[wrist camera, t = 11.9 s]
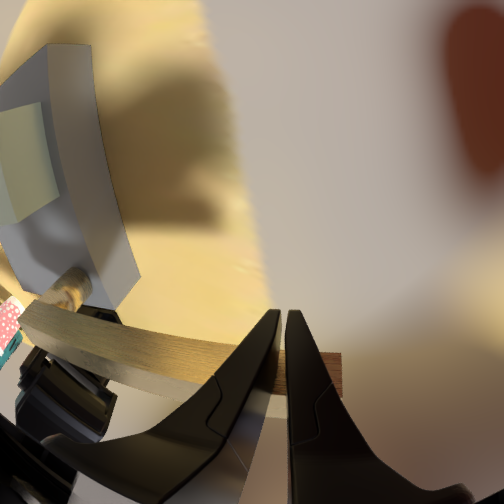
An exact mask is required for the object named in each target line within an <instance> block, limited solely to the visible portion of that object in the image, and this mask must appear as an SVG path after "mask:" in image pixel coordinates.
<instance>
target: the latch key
mask: <svg viewBox="0 0 504 504" xmlns="http://www.w3.org/2000/svg"><path fill="white" fill-rule="evenodd" d="M92 292H93V288H92V285H91V282H90V280H89V279H88V277H87V276H86V275H85V274H84V273H83V272H82V271H81V270H79V269H78V268H75V267H70V268H69V269H68V270H67V271H66V272H65V273H64V274H63V275H62V276H61V277H60V278H58V279H57V280H56V281H55V282H54V283H53V284H52V285H51V286H50V288H49V289H48V290H47V291H46V292H45V293H44V294H43V295H42V296H41V297H40V298H39V299H38V300H34V301H33V302H32V303H31V304H30V305H29V306H28V307H27V308H26V309H25V310H24V312H23V313H22V314H21V315H20V316H19V317H18V318H17V319H16V320H17V321H18V323H19V325H20V326H21V328H22V329H23V331H24V332H25V334H26V335H27V337H28V338H29V340H30V341H31V342H32V343H33V344H34V345H36V346H38V347H40V348H42V349H44V350H46V351H47V352H49V353H51V354H53V355H55V356H57V357H59V358H61V359H63V360H66V361H68V362H70V363H72V364H74V365H76V366H79V367H81V368H83V369H85V370H88V371H90V372H93V373H95V374H97V375H100V376H103V377H105V378H108V379H110V380H113V381H116V382H118V383H121V384H124V385H127V386H130V387H133V388H136V389H139V390H142V391H145V392H149V393H152V394H155V395H159V396H163V397H166V398H170V399H173V400H177V401H181V402H186V401H187V400H188V399H189V398H190V397H191V396H192V395H193V394H195V393H196V392H197V391H198V390H199V389H200V388H201V387H202V386H203V385H204V384H205V382H206V381H207V380H208V379H209V378H210V377H211V376H212V375H214V373H215V371H216V370H217V369H218V368H219V367H220V366H221V365H222V364H223V362H224V361H225V360H226V359H227V358H228V357H229V356H230V354H231V353H232V352H233V351H234V350H235V349H236V348H237V346H238V345H231V344H223V343H216V342H209V341H202V340H196V339H190V338H184V337H178V336H173V335H168V334H162V333H157V332H152V331H148V330H143V329H138V328H134V327H129V326H125V325H121V324H117V323H113V322H109V321H105V320H101V319H97V318H94V317H90V316H86V315H83V314H79V313H76V312H77V310H78V309H79V308H80V307H81V306H82V305H83V303H84V302H85V301H86V300H87V299H88V298H89V296H90V295H91V294H92ZM320 354H321V356H322V359H323V361H324V363H325V365H326V368H327V370H328V372H329V374H330V377H331V379H332V381H333V383H334V385H335V388H336V390H337V392H338V394H339V396H340V398H341V400H342V398H343V387H342V386H343V385H342V356H341V353H330V352H329V353H328V352H320ZM265 417H274V418H285V419H287V408H286V377H285V350H280V352H279V362H278V369H277V374H276V378H275V382H274V386H273V390H272V393H271V397H270V401H269V405H268V408H267V412H266V416H265Z"/></svg>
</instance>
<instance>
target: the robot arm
mask: <svg viewBox="0 0 504 504" xmlns="http://www.w3.org/2000/svg"><path fill="white" fill-rule="evenodd" d="M76 313H79V314H83V315H86V316H90V317H94V318H97V319H101V320H105V321H109V322H113V323H117V324H121V325H122V323H121V321H120V320H119V318H118V316H117V314H116V313H115V312H113V311H109V310H104V309H98V308H93V307H88V306H83V305H82V306H81V307H80V308H79V309H78V310H77V312H76ZM281 332H282V321H281V310H280V309H269V310H268V311H267V312H266V313H265V314H264V316H263V317H262V318H261V319H260V320H259V322H258V323H257V324H256V325H255V326H254V328H253V329H252V330H251V331H250V332H249V334H248V335H247V336H246V337H245V338H244V339H243V341H242V342H241V343H240V344H239V345H238V346H237V348H236V349H235V350H234V351H233V352H232V353H231V354H230V356H229V357H228V358H227V359H226V360H225V361H224V362H223V364H222V365H221V366H220V367H219V368H218V369H217V370H216V371H215V373H214V375H212V376H211V377H210V378H209V379H208V380H207V381H206V382H205V384H204V385H203V386H202V387H201V388H200V389H199V390H198V391H197V392H196V393H195V394H193V395H192V396H191V397H190V398H189V399H188V400H187V401H186V402H184V403H183V404H182V405H181V406H180V407H178V408H177V409H176V410H175V411H173V412H172V413H171V414H170V415H169V416H167V417H166V418H165V419H164V420H162V421H161V422H160V423H158V424H157V425H156V426H154V427H153V428H151V429H149V430H147V431H145V432H142V433H139V434H135V435H131V436H127V437H123V438H118V439H113V440H109V441H103V442H99V441H100V440H101V439H102V438H103V437H104V435H105V433H106V431H107V429H108V426H109V423H110V419H111V416H112V413H113V410H114V406H115V403H116V400H117V397H118V396H117V395H116V394H115V393H112V392H111V391H110V390H108V389H107V388H106V386H107V384H108V382H109V380H110V379H108V378H105V377H103V376H100V375H97V374H95V373H93V372H90V371H88V370H85V369H83V368H81V367H79V366H76V365H74V364H72V363H70V362H68V361H66V360H63V359H61V358H59V357H57V356H55V355H53V354H51V353H49V352H47V351H46V350H44V349H42V348H40V347H38V346H36V345H35V347H34V348H33V349H32V351H31V352H30V354H29V355H28V356H27V358H26V359H25V361H24V362H23V363H22V365H21V367H20V373H21V376H20V378H19V379H20V381H19V383H18V387H19V388H20V389H22V391H21V392H20V394H19V395H18V397H17V398H16V401H15V418H16V426H15V425H14V424H13V423H11V422H10V421H9V420H8V419H7V418H6V417H4V416H3V415H2V414H1V413H0V504H238V502H239V499H240V497H241V493H242V491H243V487H244V485H245V481H246V479H247V476H248V472H249V469H250V466H251V463H252V459H253V456H254V453H255V450H256V447H257V443H258V440H259V437H260V433H261V430H262V426H263V423H264V419H265V416H266V412H267V408H268V405H269V401H270V397H271V393H272V390H273V386H274V382H275V378H276V374H277V369H278V362H279V352H280V342H281ZM46 356H47V357H48V358H50V359H51V360H50V361H48V360H47V359H46V358H45V357H46ZM285 377H286V408H287V454H288V455H287V456H288V458H287V459H288V460H287V461H288V462H287V464H288V501H287V502H288V503H287V504H504V488H503V489H501V490H499V491H497V492H496V493H493V494H491V495H489V496H487V497H485V498H483V499H481V500H479V501H477V502H475V501H476V500H475V498H474V495H473V494H472V492H471V491H470V490H469V489H468V488H467V487H466V486H465V485H464V484H463V483H458V484H455V485H452V486H449V487H446V488H442V489H439V490H434V491H429V490H424V489H421V488H419V487H417V486H416V485H414V484H413V483H411V482H410V481H408V480H407V479H406V478H404V477H403V476H402V475H400V474H399V473H397V472H396V471H395V470H393V469H392V468H391V467H389V466H388V465H386V464H385V463H384V462H383V461H382V460H380V459H379V458H378V457H377V456H376V455H375V454H374V452H373V451H372V450H371V448H370V447H369V445H368V444H367V442H366V441H365V439H364V437H363V436H362V434H361V433H360V431H359V429H358V428H357V426H356V425H355V423H354V422H353V420H352V418H351V417H350V415H349V413H348V412H347V410H346V408H345V406H344V405H343V403H342V400H341V398H340V396H339V394H338V392H337V390H336V388H335V385H334V383H333V381H332V379H331V377H330V374H329V372H328V370H327V368H326V365H325V363H324V361H323V359H322V356H321V354H320V352H319V350H318V347H317V345H316V343H315V341H314V339H313V336H312V334H311V332H310V330H309V327H308V325H307V323H306V321H305V319H304V317H303V314H302V313H301V311H300V310H289V311H288V317H287V323H286V330H285ZM474 502H475V503H474Z"/></svg>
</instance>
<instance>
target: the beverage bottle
mask: <svg viewBox="0 0 504 504" xmlns="http://www.w3.org/2000/svg"><path fill="white" fill-rule="evenodd" d="M22 339H23V337H22V335H21V333H20V331H19V330H18V331H17V332H16V333H15V335H14V336H13V338H12V339H11V340H10V342H9V343H8V345H7V346H6V348H5V349H4V351H3V352H4V353H3V354H2V356H0V369H1V368H2V367H3V365H4V364H5V362H6V361H7V360H8V359H9V357H10V355H11V354H12V353H13V352H14V351H15V350H16V349H17V346H18V345H19V344H20V342H22Z"/></svg>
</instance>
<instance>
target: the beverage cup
mask: <svg viewBox="0 0 504 504" xmlns="http://www.w3.org/2000/svg"><path fill="white" fill-rule="evenodd" d="M24 310H25V309H24V307H23V306H22V304H21V303H20V302H19V301H18V299H16V298H15V297H14V296H10V297H9V298H8V299H7V300H6V301H5V302H4V303H3V304H2V305H1V306H0V356H2V354H3V353H4V352H3V351H4V349H5V348H6V346H7V345H8V343H9V342H10V340H11V339H12V338H13V336H14V335H15V333H16V332H17V331H18V329H19V328H20V325H19V323H18V321H17V320H16V319H17V318H18V317H19V316H20V315H21V314H22V313H23V312H24Z"/></svg>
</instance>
